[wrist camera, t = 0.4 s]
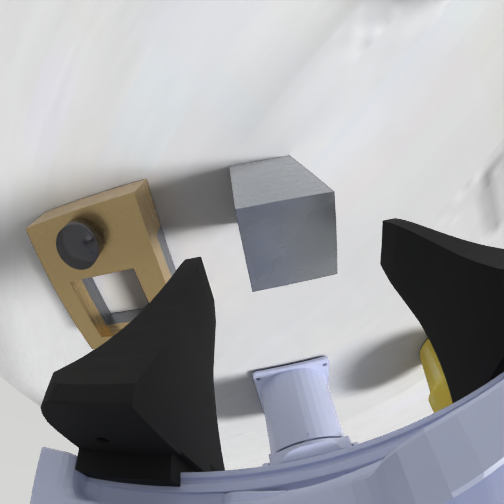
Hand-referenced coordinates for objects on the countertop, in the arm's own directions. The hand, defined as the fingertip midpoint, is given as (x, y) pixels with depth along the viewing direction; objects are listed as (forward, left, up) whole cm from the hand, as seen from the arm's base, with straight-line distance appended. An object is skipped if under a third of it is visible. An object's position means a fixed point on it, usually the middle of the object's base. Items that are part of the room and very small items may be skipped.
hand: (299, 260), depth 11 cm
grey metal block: (0, 0, -9) cm, 9 cm away
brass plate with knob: (-5, +12, -9) cm, 16 cm away
